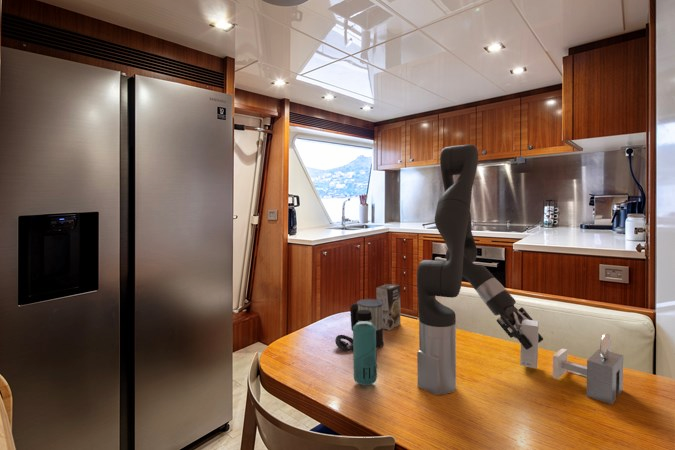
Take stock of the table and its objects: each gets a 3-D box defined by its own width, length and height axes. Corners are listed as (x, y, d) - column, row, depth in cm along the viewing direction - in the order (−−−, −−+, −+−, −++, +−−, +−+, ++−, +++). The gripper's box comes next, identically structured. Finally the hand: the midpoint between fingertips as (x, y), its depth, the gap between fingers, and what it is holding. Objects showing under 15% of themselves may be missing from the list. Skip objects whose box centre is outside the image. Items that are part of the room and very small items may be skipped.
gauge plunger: (604, 396, 83) (604, 370, 83) (552, 379, 92) (552, 355, 91) (616, 380, 90) (617, 356, 90) (567, 366, 99) (567, 344, 99)
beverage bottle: (361, 393, 88) (360, 316, 87) (348, 382, 94) (347, 309, 93) (382, 386, 91) (381, 312, 90) (368, 376, 97) (367, 306, 96)
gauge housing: (611, 404, 81) (613, 342, 80) (542, 380, 92) (542, 325, 92) (625, 385, 89) (626, 328, 88) (560, 365, 101) (560, 315, 100)
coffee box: (390, 330, 132) (390, 289, 131) (376, 327, 136) (375, 287, 135) (401, 324, 139) (400, 284, 139) (387, 321, 143) (386, 283, 143)
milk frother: (388, 342, 121) (388, 300, 120) (367, 359, 108) (367, 312, 107) (353, 335, 129) (352, 295, 128) (330, 349, 115) (329, 306, 115)
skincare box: (537, 369, 95) (538, 326, 95) (520, 365, 98) (520, 324, 97) (538, 361, 101) (538, 320, 100) (521, 357, 103) (522, 318, 102)
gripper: (492, 292, 100) (535, 344, 91) (514, 285, 109) (555, 332, 100) (475, 307, 104) (514, 357, 95) (497, 299, 113) (535, 344, 104)
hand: (535, 344), depth 98 cm, fingers closed on skincare box, 7 cm apart
